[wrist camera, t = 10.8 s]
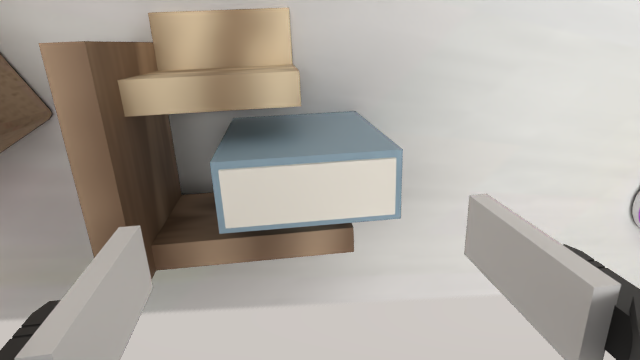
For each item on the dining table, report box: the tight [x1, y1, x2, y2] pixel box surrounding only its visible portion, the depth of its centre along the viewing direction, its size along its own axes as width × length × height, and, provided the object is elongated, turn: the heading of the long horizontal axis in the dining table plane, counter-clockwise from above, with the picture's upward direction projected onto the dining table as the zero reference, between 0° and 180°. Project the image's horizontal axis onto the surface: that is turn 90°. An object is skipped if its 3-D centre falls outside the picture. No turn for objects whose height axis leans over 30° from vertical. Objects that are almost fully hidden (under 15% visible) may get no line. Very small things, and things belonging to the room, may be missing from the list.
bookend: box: [117, 8, 301, 117], centre depth 26 cm, size 10×6×9 cm, turn 92°
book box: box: [210, 111, 403, 234], centre depth 27 cm, size 10×4×13 cm, turn 92°
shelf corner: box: [39, 41, 354, 279], centre depth 27 cm, size 15×14×12 cm
